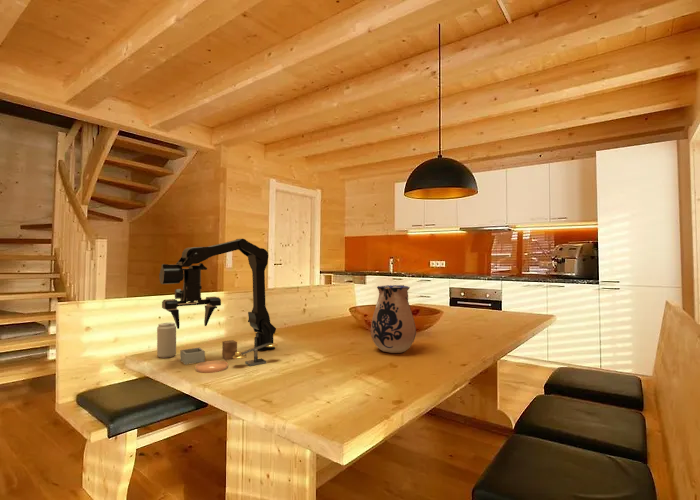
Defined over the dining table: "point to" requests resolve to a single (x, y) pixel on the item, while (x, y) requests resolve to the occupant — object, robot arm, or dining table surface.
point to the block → (229, 349)
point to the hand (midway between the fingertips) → (192, 327)
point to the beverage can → (166, 340)
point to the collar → (192, 355)
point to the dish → (211, 366)
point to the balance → (256, 361)
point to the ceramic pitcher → (393, 320)
